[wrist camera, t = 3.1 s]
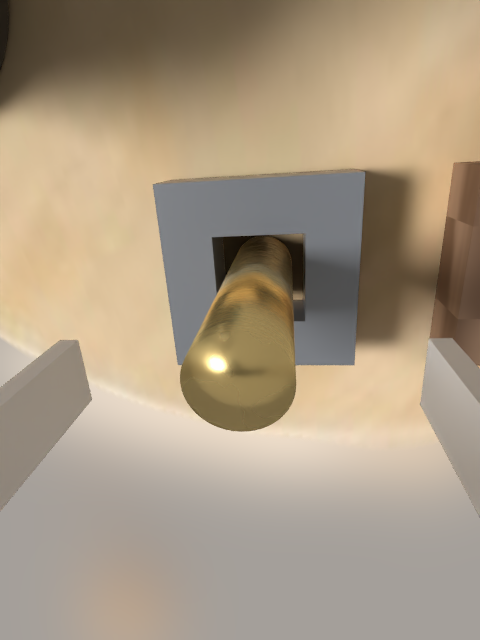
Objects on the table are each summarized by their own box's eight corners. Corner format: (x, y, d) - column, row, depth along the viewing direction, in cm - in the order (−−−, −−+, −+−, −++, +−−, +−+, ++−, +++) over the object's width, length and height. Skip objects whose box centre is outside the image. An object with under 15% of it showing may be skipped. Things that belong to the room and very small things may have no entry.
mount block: (190, 340, 31) (178, 364, 28) (171, 180, 27) (152, 184, 23) (346, 338, 30) (354, 365, 26) (353, 169, 25) (365, 171, 21)
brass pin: (237, 291, 29) (187, 430, 15) (234, 236, 28) (173, 331, 13) (292, 289, 29) (296, 432, 14) (291, 234, 27) (295, 330, 12)
